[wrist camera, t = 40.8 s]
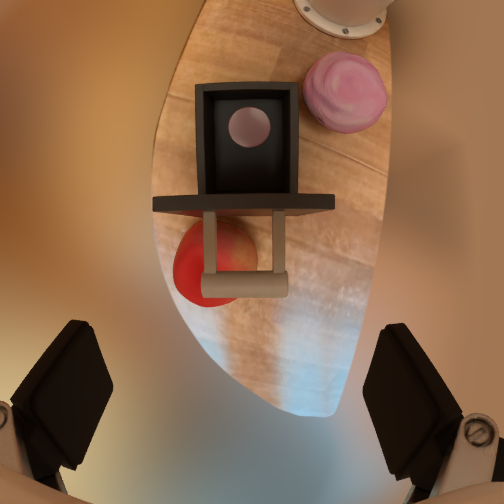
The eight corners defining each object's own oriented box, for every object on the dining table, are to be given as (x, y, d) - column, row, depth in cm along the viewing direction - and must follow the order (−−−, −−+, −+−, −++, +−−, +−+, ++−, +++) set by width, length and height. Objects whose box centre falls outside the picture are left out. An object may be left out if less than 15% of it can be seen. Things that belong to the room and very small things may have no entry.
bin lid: (152, 196, 15) (156, 305, 16) (335, 194, 15) (333, 305, 15) (198, 208, 28) (199, 269, 29) (298, 207, 28) (298, 268, 29)
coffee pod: (230, 110, 32) (227, 107, 28) (268, 110, 32) (270, 106, 28) (231, 146, 33) (228, 148, 29) (268, 146, 33) (271, 147, 29)
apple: (216, 290, 41) (207, 333, 32) (169, 241, 39) (145, 274, 29) (270, 250, 39) (276, 286, 30) (223, 195, 36) (212, 215, 27)
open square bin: (208, 95, 32) (194, 84, 24) (288, 94, 32) (298, 82, 24) (210, 195, 36) (199, 211, 29) (287, 194, 36) (297, 210, 29)
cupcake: (320, 53, 29) (343, 28, 20) (375, 95, 31) (413, 86, 22) (280, 106, 32) (291, 94, 23) (338, 147, 34) (367, 152, 25)
